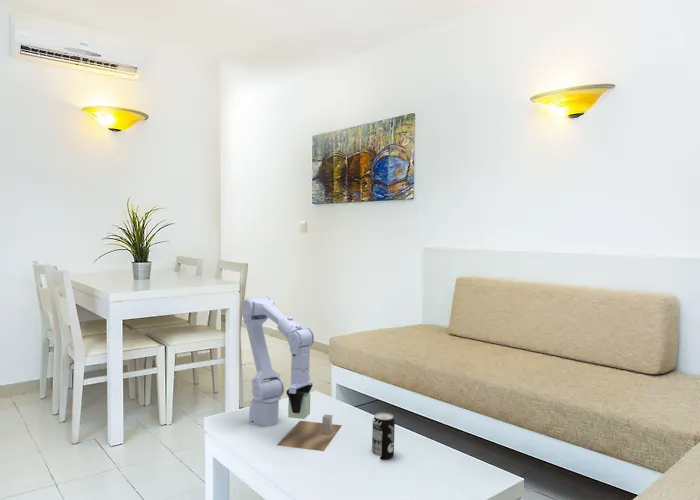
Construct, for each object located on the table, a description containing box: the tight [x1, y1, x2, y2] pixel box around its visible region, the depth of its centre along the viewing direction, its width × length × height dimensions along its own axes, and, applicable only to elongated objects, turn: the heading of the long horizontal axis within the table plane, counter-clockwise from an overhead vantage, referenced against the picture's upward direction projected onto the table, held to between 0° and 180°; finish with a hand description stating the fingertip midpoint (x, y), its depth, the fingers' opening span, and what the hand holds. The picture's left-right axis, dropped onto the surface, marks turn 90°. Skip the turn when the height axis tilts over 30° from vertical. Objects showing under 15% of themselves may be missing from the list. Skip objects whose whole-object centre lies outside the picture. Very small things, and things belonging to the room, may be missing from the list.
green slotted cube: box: [287, 392, 311, 420], centre depth 164 cm, size 5×5×7 cm
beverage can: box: [371, 412, 396, 460], centre depth 155 cm, size 7×7×12 cm
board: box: [276, 420, 343, 452], centre depth 166 cm, size 15×22×1 cm
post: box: [321, 414, 333, 435], centre depth 168 cm, size 3×3×6 cm
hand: (299, 409), depth 164 cm, fingers closed on green slotted cube, 5 cm apart
